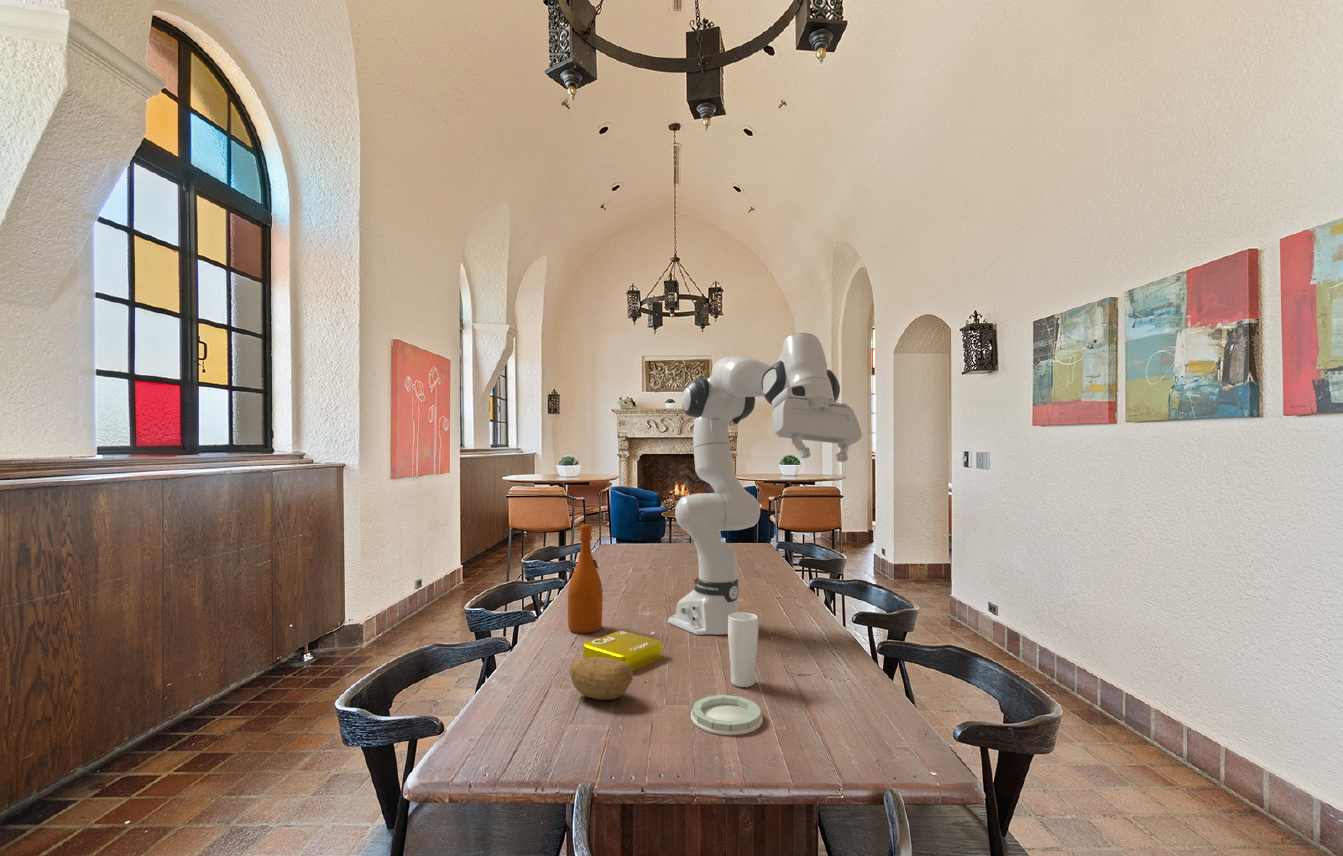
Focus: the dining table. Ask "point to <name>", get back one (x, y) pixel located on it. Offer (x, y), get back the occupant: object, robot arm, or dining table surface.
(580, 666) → the potato
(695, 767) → the dining table surface
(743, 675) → the drinking glass
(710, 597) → the robot arm
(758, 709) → the green rimmed plate
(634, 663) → the element tile
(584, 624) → the wine bottle
